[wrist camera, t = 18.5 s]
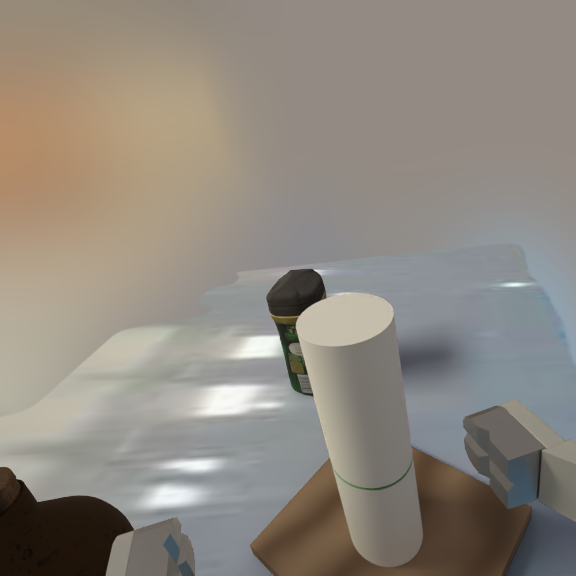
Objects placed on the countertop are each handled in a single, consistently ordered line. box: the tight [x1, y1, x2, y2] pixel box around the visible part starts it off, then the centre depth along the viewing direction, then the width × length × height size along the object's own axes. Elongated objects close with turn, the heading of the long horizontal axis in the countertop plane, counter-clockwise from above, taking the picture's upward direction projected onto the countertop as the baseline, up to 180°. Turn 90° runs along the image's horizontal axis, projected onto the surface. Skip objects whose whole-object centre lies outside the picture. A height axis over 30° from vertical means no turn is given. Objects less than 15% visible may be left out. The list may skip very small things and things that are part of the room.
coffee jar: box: [266, 269, 326, 395], centre depth 60 cm, size 10×8×19 cm
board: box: [250, 447, 532, 576], centre depth 39 cm, size 20×20×2 cm
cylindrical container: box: [296, 293, 423, 567], centre depth 33 cm, size 7×7×25 cm
